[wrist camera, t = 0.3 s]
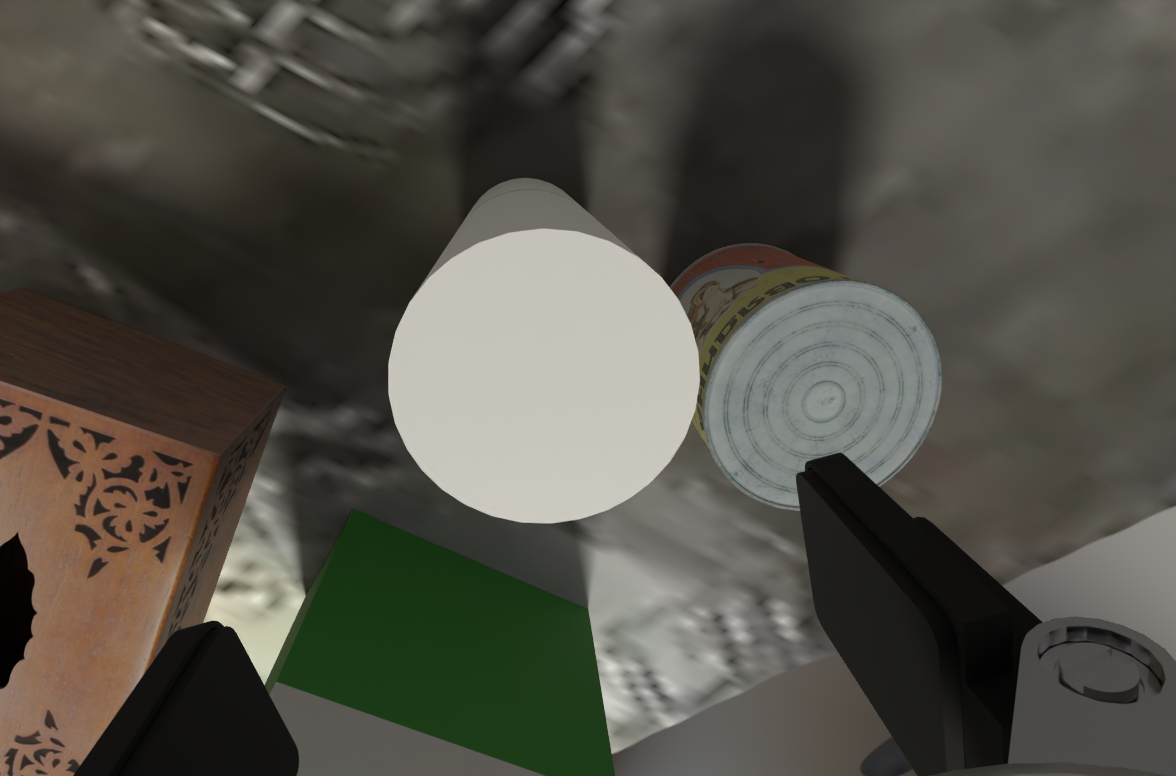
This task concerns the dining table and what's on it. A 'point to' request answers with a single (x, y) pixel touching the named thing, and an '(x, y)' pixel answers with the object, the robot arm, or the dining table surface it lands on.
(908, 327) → the canned food
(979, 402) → the dining table surface
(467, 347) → the cylindrical container
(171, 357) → the tissue box cover
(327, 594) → the hardback book
